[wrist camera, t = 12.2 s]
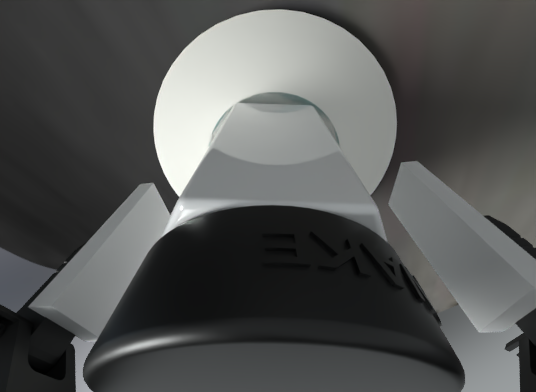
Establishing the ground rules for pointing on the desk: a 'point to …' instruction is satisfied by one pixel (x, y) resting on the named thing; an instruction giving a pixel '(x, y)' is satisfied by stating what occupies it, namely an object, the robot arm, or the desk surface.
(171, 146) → the plate
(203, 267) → the jar
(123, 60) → the desk surface
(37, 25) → the desk surface
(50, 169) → the desk surface
